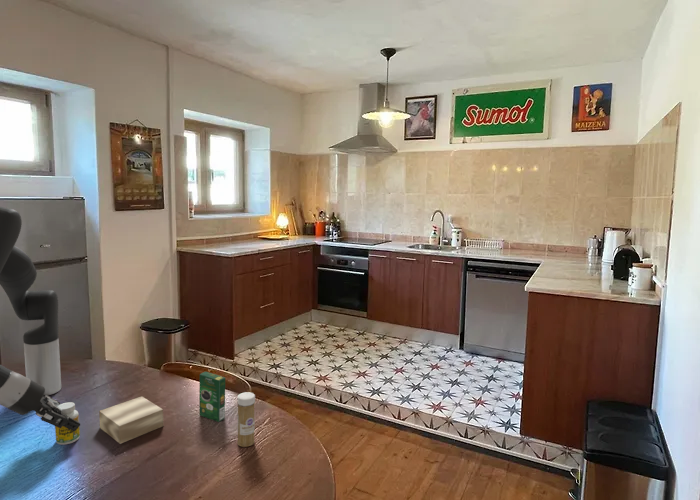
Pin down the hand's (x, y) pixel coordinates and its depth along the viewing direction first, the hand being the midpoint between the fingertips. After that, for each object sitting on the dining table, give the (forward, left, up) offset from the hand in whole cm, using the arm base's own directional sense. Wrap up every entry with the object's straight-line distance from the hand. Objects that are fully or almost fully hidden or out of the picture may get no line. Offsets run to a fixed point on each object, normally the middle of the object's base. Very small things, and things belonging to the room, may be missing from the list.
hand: (74, 422), depth 119 cm
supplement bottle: (0, -2, -4) cm, 5 cm away
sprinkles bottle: (+36, +28, -4) cm, 46 cm away
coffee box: (+18, +30, -4) cm, 35 cm away
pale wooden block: (+6, +12, -4) cm, 14 cm away
